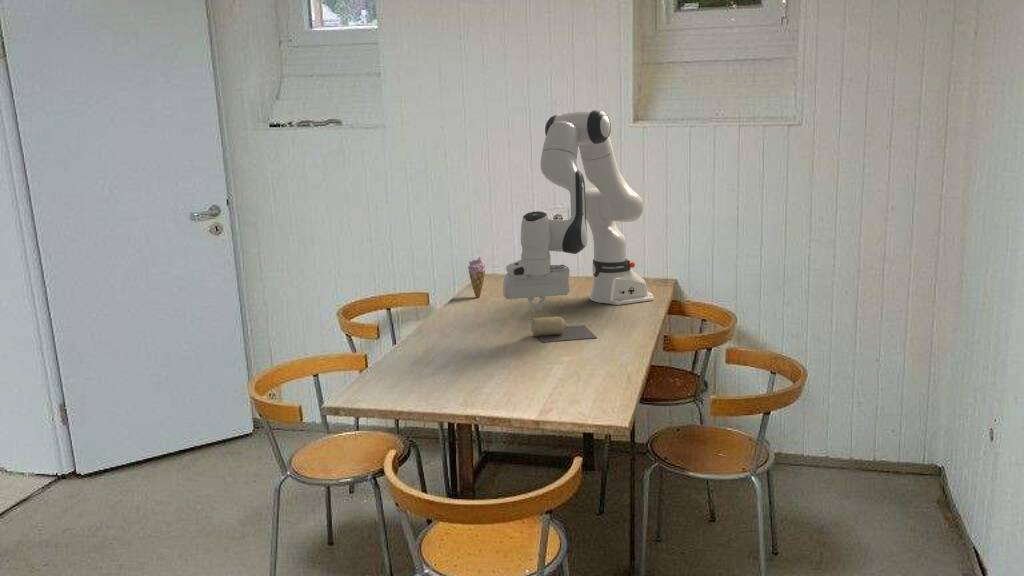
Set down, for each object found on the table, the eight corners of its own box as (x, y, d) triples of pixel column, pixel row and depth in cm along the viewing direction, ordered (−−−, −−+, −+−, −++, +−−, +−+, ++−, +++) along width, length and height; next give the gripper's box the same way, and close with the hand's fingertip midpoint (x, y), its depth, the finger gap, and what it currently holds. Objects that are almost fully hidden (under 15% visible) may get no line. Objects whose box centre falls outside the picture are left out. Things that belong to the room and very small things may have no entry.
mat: (584, 325, 288) (584, 325, 288) (597, 338, 275) (597, 337, 275) (532, 330, 285) (532, 329, 285) (542, 342, 272) (542, 341, 272)
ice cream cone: (485, 299, 324) (484, 258, 320) (468, 300, 324) (466, 259, 321) (486, 295, 330) (485, 255, 327) (469, 295, 331) (467, 255, 327)
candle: (534, 335, 274) (567, 333, 276) (533, 317, 275) (566, 315, 276) (532, 336, 280) (564, 334, 281) (530, 318, 280) (562, 316, 282)
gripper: (566, 262, 278) (567, 305, 282) (501, 266, 275) (502, 310, 278) (572, 266, 272) (572, 310, 276) (505, 270, 269) (506, 315, 272)
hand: (536, 310), depth 277 cm, fingers closed
